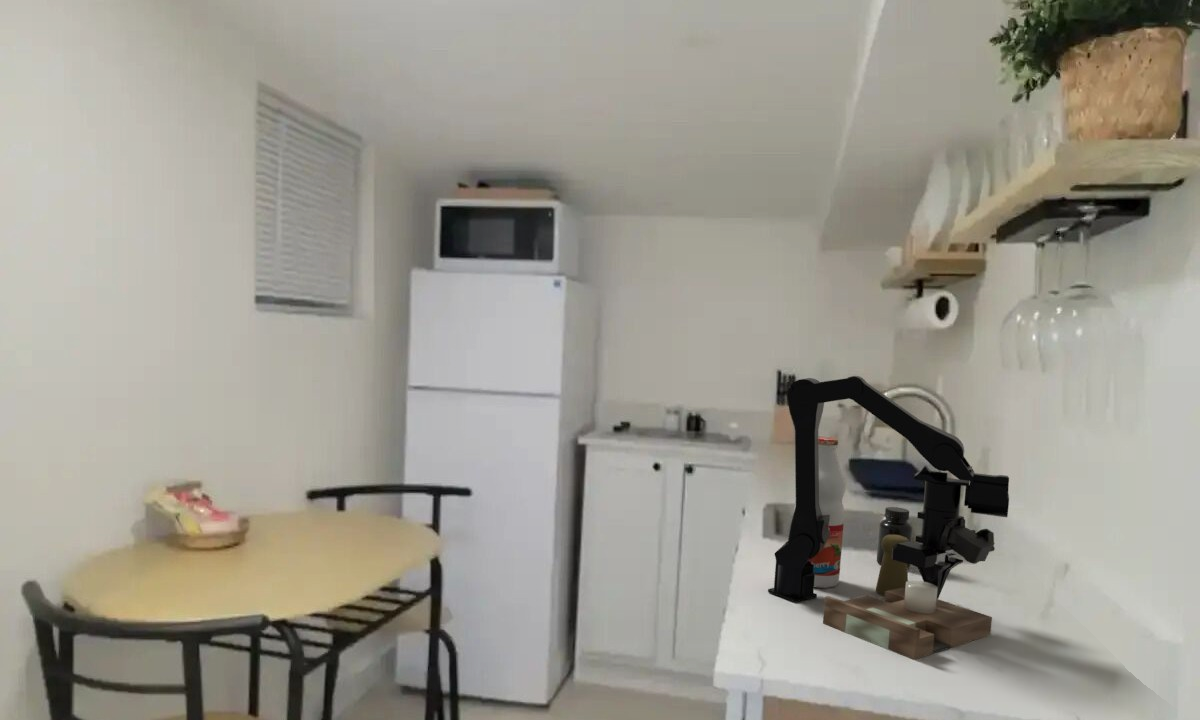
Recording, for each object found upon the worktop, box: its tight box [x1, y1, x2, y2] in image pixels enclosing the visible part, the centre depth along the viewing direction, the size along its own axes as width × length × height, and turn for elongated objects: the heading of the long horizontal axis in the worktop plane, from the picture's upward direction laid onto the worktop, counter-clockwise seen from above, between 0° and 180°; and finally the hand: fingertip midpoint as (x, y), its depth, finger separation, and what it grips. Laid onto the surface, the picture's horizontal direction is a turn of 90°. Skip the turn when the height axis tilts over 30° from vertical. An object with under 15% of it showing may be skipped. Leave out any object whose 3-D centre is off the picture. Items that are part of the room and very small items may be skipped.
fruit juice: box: [793, 435, 847, 589], centre depth 167 cm, size 9×9×28 cm
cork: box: [874, 535, 909, 597], centre depth 162 cm, size 6×6×11 cm
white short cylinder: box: [904, 580, 938, 614], centre depth 145 cm, size 5×5×4 cm
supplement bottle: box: [876, 506, 914, 569], centre depth 183 cm, size 7×7×12 cm
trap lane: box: [822, 588, 993, 660], centre depth 143 cm, size 17×22×4 cm
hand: (934, 598), depth 147 cm, fingers closed
